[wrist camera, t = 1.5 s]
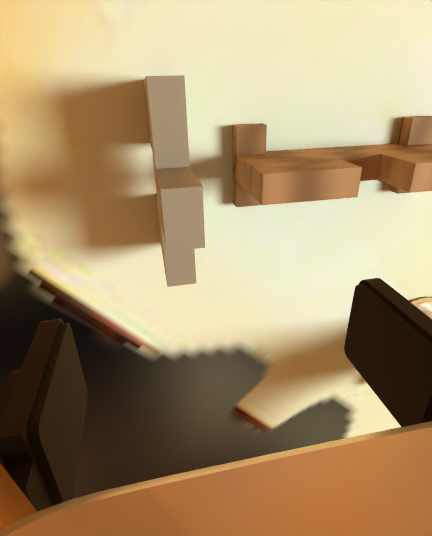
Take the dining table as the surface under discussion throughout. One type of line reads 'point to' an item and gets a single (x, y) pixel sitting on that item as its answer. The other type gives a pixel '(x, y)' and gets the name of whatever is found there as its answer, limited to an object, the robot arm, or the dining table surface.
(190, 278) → the grey slotted plate
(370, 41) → the dining table surface
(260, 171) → the walnut slotted stand
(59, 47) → the dining table surface
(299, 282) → the dining table surface
